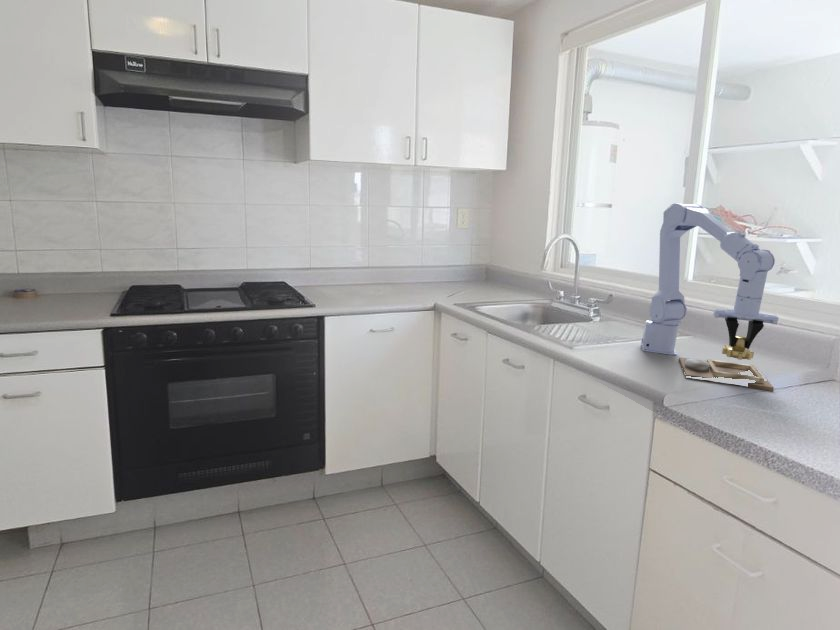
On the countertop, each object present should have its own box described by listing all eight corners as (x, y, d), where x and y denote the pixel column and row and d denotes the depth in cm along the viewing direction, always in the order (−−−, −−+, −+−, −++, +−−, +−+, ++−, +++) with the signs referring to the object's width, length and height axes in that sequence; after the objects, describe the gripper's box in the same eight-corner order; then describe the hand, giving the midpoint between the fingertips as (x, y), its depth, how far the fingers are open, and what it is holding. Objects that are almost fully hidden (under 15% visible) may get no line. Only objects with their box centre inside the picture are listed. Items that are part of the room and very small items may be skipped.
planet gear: (724, 357, 144) (727, 339, 142) (719, 349, 150) (723, 331, 149) (755, 361, 142) (759, 343, 140) (749, 353, 148) (753, 335, 147)
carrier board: (685, 378, 144) (687, 369, 143) (678, 360, 158) (680, 352, 158) (772, 391, 138) (774, 381, 137) (757, 371, 152) (758, 362, 152)
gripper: (720, 296, 140) (711, 346, 144) (785, 302, 136) (774, 355, 139) (715, 291, 147) (706, 339, 150) (777, 297, 143) (767, 347, 146)
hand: (738, 346), depth 145 cm, fingers closed on planet gear, 3 cm apart
